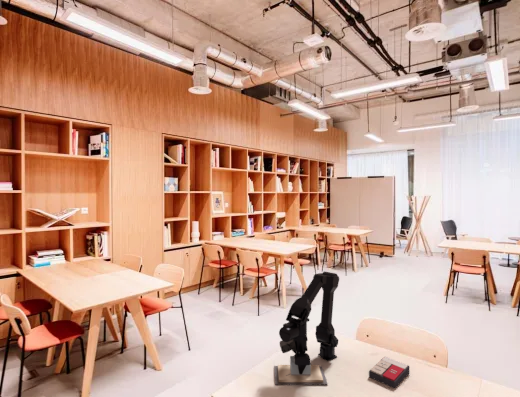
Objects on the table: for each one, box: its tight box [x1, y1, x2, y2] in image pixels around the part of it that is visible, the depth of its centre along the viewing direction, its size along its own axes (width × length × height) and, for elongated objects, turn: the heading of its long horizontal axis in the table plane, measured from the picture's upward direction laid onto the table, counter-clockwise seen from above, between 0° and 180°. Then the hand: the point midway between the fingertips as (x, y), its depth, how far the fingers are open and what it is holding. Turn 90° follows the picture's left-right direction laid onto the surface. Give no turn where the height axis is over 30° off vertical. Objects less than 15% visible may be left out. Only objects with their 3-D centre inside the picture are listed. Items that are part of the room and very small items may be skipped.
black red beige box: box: [368, 356, 410, 389], centre depth 133 cm, size 11×4×15 cm
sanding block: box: [289, 355, 312, 375], centre depth 133 cm, size 8×5×6 cm, turn 89°
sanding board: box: [273, 364, 329, 386], centre depth 133 cm, size 21×13×2 cm, turn 89°
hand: (299, 370), depth 133 cm, fingers closed on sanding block, 5 cm apart
